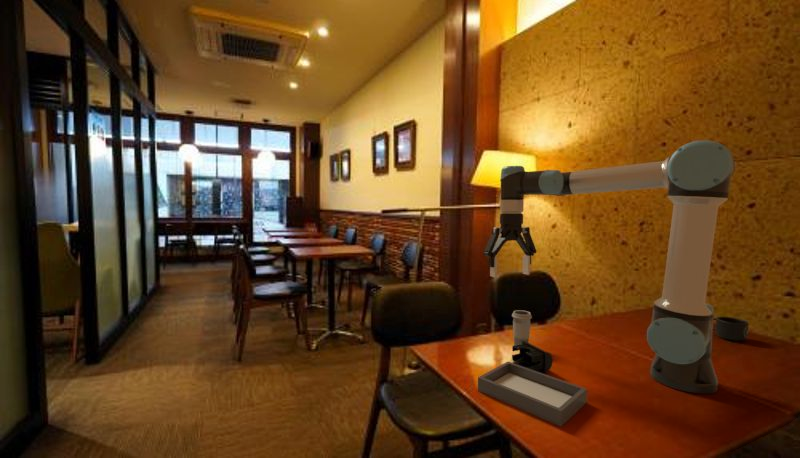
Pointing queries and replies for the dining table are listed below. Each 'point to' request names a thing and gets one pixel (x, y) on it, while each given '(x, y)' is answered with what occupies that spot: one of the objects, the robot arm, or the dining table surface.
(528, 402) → the shallow grey tray
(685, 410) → the dining table surface
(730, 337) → the mug
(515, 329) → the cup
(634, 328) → the dining table surface
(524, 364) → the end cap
